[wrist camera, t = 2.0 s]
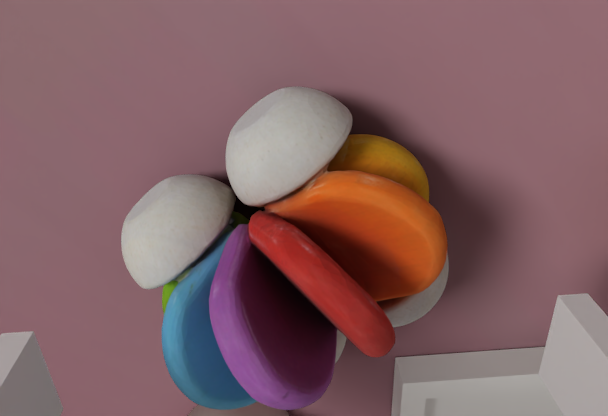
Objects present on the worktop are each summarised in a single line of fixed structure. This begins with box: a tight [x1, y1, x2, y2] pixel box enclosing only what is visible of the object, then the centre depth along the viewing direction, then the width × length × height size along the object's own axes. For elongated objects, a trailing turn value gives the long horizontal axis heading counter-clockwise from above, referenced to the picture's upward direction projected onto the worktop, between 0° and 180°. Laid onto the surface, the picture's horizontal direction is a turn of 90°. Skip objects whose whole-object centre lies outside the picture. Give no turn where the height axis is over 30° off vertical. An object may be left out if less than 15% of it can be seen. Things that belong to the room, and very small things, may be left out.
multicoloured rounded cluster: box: [121, 87, 449, 410], centre depth 15 cm, size 8×10×7 cm
